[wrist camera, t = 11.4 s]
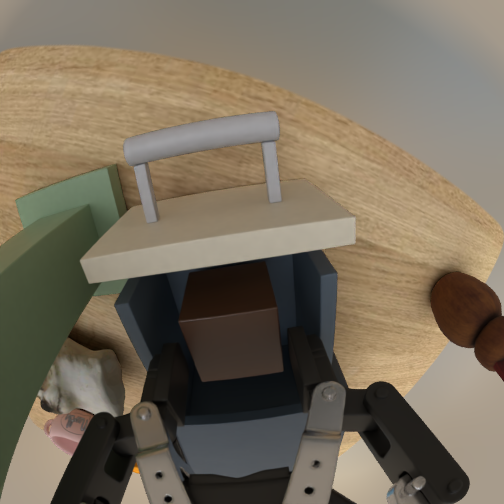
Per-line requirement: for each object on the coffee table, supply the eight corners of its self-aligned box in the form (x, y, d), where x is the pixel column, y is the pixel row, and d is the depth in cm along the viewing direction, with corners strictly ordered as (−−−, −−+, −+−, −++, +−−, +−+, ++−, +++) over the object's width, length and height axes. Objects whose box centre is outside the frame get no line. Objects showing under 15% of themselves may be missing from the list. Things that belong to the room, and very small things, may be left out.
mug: (110, 409, 28) (101, 446, 23) (127, 441, 32) (121, 472, 27) (38, 389, 27) (25, 420, 21) (62, 424, 31) (53, 452, 26)
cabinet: (169, 330, 23) (150, 425, 14) (315, 309, 23) (353, 400, 14) (208, 416, 29) (208, 486, 21) (312, 402, 29) (331, 470, 21)
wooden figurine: (413, 311, 25) (492, 423, 11) (434, 261, 22) (539, 366, 9) (452, 310, 26) (525, 399, 12) (472, 265, 23) (562, 349, 10)
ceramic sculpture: (119, 460, 19) (-2, 399, 16) (137, 397, 27) (30, 351, 24) (112, 410, 15) (-35, 329, 12) (143, 333, 23) (15, 280, 20)
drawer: (118, 143, 15) (50, 161, 8) (298, 111, 15) (351, 104, 8) (181, 355, 23) (172, 430, 16) (311, 337, 23) (337, 409, 16)
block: (188, 272, 16) (177, 321, 12) (265, 260, 16) (278, 307, 12) (205, 330, 18) (201, 382, 14) (272, 320, 18) (284, 372, 14)
